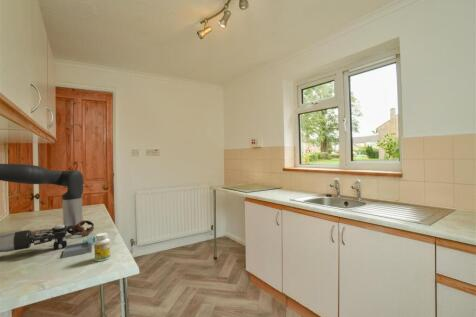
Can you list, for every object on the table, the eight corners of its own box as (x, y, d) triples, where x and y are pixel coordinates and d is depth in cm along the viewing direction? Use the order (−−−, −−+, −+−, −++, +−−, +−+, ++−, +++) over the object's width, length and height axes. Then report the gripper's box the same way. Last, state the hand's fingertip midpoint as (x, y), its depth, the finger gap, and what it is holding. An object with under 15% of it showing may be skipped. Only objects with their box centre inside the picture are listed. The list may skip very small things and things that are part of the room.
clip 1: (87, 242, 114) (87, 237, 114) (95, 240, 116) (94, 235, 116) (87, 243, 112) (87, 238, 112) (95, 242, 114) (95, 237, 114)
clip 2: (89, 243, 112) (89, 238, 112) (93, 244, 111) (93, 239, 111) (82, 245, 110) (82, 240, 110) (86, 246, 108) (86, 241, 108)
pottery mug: (88, 231, 133) (94, 219, 132) (91, 243, 127) (97, 230, 125) (62, 231, 125) (68, 218, 123) (64, 243, 118) (70, 229, 117)
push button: (48, 251, 103) (48, 228, 103) (48, 248, 107) (47, 225, 107) (67, 247, 107) (67, 225, 107) (67, 244, 111) (66, 222, 111)
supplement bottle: (113, 257, 96) (112, 233, 95) (100, 262, 91) (99, 237, 91) (105, 254, 98) (104, 231, 98) (91, 260, 93) (90, 235, 93)
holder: (65, 250, 104) (64, 241, 104) (92, 245, 109) (91, 236, 109) (62, 257, 97) (62, 247, 97) (91, 252, 102) (91, 242, 102)
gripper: (9, 236, 94) (63, 229, 102) (19, 227, 106) (67, 221, 114) (10, 256, 94) (64, 246, 102) (20, 244, 106) (68, 237, 115)
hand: (65, 233), depth 108 cm, fingers closed on push button, 3 cm apart
